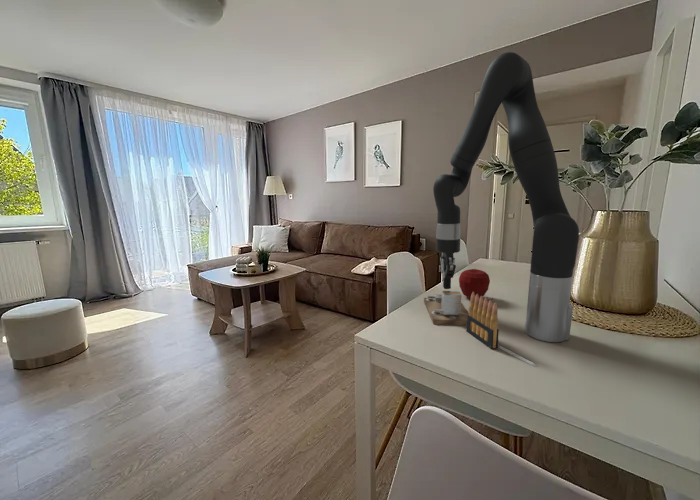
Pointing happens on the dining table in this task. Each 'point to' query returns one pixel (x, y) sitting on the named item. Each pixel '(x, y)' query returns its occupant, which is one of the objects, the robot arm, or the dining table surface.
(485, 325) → the ammunition clip
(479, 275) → the apple
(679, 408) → the dining table surface
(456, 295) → the grey latch block
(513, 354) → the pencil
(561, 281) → the robot arm
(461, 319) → the sliding latch plate
